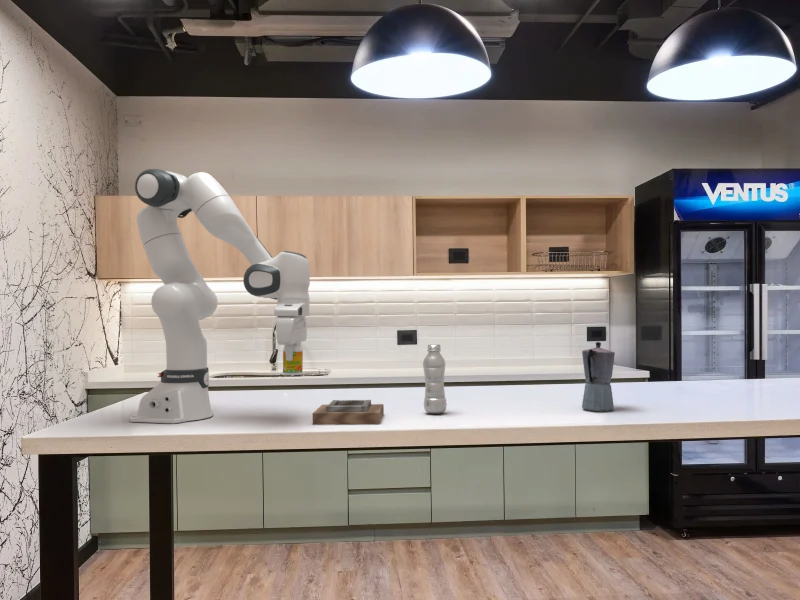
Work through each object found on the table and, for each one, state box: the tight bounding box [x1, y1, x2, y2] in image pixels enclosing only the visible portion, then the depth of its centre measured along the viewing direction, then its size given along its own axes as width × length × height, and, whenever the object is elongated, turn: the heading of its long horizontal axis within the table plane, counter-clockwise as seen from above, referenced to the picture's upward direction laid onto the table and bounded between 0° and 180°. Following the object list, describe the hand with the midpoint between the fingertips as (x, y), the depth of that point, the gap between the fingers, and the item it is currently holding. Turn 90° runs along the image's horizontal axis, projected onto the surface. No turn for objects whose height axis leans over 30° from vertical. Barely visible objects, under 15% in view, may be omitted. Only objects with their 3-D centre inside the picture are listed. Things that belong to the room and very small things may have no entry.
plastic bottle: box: [422, 344, 448, 415], centre depth 165 cm, size 6×7×20 cm
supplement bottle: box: [282, 339, 304, 376], centre depth 157 cm, size 5×5×10 cm
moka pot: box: [581, 341, 616, 412], centre depth 167 cm, size 10×15×20 cm, turn 148°
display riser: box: [312, 399, 385, 425], centre depth 158 cm, size 18×14×4 cm
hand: (292, 359), depth 157 cm, fingers closed on supplement bottle, 5 cm apart
